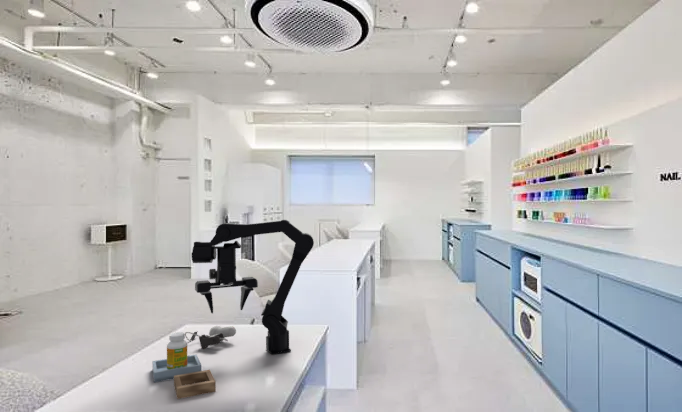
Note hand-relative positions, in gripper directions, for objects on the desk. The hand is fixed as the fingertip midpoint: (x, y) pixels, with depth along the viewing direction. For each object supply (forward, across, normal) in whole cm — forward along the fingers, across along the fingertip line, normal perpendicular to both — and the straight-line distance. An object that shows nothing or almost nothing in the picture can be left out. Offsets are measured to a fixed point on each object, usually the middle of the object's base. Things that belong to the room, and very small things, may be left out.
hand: (226, 311), depth 135 cm
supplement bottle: (+12, +16, +10) cm, 22 cm away
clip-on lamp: (+13, +4, -13) cm, 19 cm away
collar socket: (+13, +13, +24) cm, 30 cm away
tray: (+13, +16, +10) cm, 23 cm away
